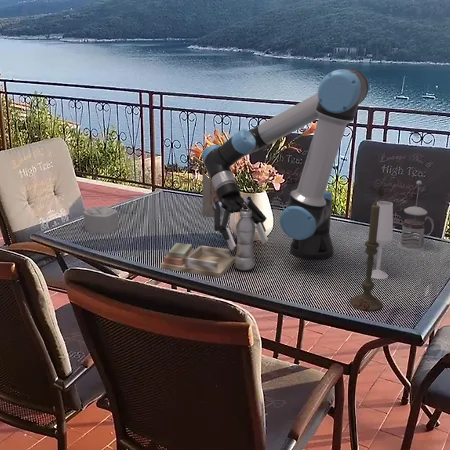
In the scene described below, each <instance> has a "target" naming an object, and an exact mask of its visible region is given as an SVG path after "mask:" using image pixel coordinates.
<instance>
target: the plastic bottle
mask: <svg viewBox="0 0 450 450" xmlns="http://www.w3.org/2000/svg"><path fill="white" fill-rule="evenodd" d="M239 217H240V218H239V219H238V220H237V222H236V225H235V231H236V232H235V234H236V242H237V243H236V253H235V256H234V257H235V262H234V265H235V267H236V269H238V270H239V271H243V272H244V271H250V270H252V269H253V268H254V266H255V262H256V260H255V254H254V253H255V252H254V242H255V241H254V239H255V238H254V237H255V233H256V224H255V223H254V221H253V220H252V219H251V217H252V211H251V210H249V208H248V209H243V208H242V210H240V212H239Z"/></svg>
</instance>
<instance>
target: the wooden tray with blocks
mask: <svg viewBox="0 0 450 450" xmlns="http://www.w3.org/2000/svg"><path fill="white" fill-rule="evenodd" d="M235 257H236V256H232V255H231V249H230V248H222V247H215V246H207V245H199V246H198V247H196V248H195V249H193V244H192V243H179V242H176V243H175V244H174V245H173V246H172V247H171V248H170V249H169V251H168V253H167V255H165V256H164V257H163V261H162V262H161V263H160V269H163V270H164V269H165V270H170V271H177V272H181V273H182V272H183V273H190V274H196V275H203V276H208V277H214V278H221V277H222V276H224V274H225V273H226V272H227V271H228V270H229V269H230V268H231V267H232V266H233V265H234V264H235Z"/></svg>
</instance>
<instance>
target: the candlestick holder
mask: <svg viewBox="0 0 450 450" xmlns="http://www.w3.org/2000/svg"><path fill="white" fill-rule="evenodd" d="M370 209H371V210H370V218H369V228H368V240H367V241H365V243H364V246H366V247H365V251H364V252H365V254H366V255H368V256H367V259H366V261H365V263H366V272H365V273H366V274H365V275H366V277H365V279H364V280H363V281H362V282H361V288H362V289H363V293H361V294H357V295H355V296H353V297H351V298H350V300H349V304H350V306H351V307H353V308H354V307H355V308H354V309H356V308H358V309H357V310H359V309H360V310H359V311H362V310H364V311H363V312H376V311H375V310H377V311H379V309H380V310H381V309H382V308H383V307H384V306H383V305H384V304H383V302H382V301H381V300H380V299H379V298H378V297H376V296H374V295H373V294H372V291H373V290H374V288H375V283H374V282H373V280H372V277H371V276H372V270H373V268H374V267H373V266H374V265H375V262H374V261H375V258H374V256H375V255H378V246H379V243H377V242H376V240H377V230H378V220H379V210H380V206H378V205H377V203H374V204H372V205H371V208H370Z"/></svg>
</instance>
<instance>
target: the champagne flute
mask: <svg viewBox="0 0 450 450" xmlns="http://www.w3.org/2000/svg"><path fill="white" fill-rule="evenodd" d="M376 205H378V206H380V210H379V220H378V230H377V240H376V242H377V243H379V246H378V247H377V257H376V266H375V267H376V268H375V269H372V276H371V279H375V280H377V279H378V280H384V279H387V278H389V274H387V272H385V271H383V270H381V263H382V262H381V261H382V255H383V254H382V253H383V247H386V246H387V245H388V244H390V243H391V241H392V240H393V235H394V234H393V226H394V219H393V217H394V216H393V215H394V212H393V211H394V205H393V202H391V201H386V200H383V201H382V200H380V201H377V202H376Z"/></svg>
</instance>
